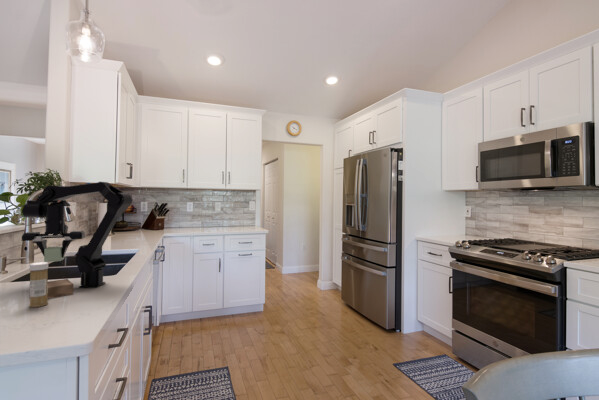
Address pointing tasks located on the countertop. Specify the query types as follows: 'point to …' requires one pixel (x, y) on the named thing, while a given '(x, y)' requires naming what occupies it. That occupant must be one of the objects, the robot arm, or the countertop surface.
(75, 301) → the countertop surface
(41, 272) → the sprinkles bottle
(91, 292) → the countertop surface
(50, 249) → the sage green cube
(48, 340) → the countertop surface
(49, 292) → the walnut block
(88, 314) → the countertop surface
